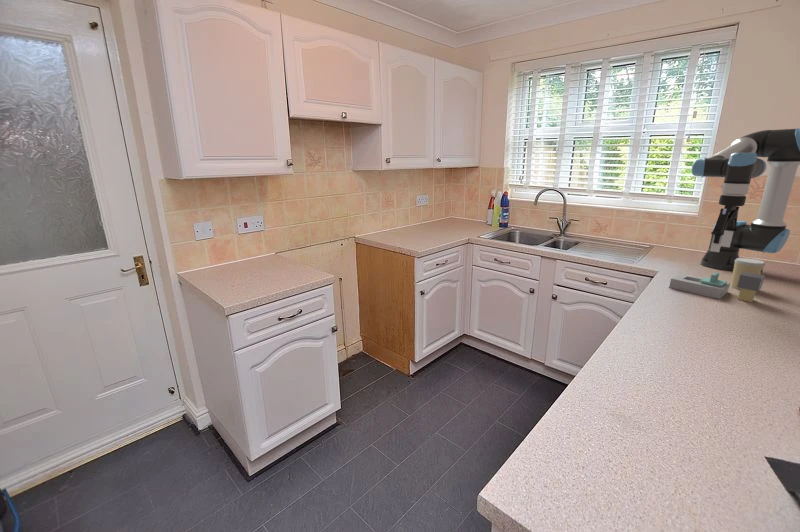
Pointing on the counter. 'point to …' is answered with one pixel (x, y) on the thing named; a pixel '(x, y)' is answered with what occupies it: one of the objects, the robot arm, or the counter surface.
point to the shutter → (713, 280)
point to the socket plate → (697, 286)
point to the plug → (749, 285)
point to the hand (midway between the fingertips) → (719, 249)
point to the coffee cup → (745, 269)
